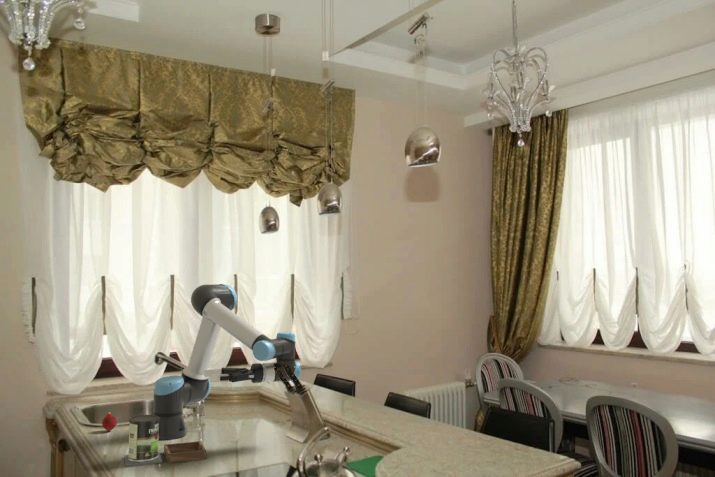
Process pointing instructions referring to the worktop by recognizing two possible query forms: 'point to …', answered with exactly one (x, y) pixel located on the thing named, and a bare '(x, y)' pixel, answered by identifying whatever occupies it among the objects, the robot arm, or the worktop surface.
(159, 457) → the mat
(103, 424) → the onion
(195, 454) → the wooden square tray
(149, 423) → the coffee can
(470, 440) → the worktop surface
